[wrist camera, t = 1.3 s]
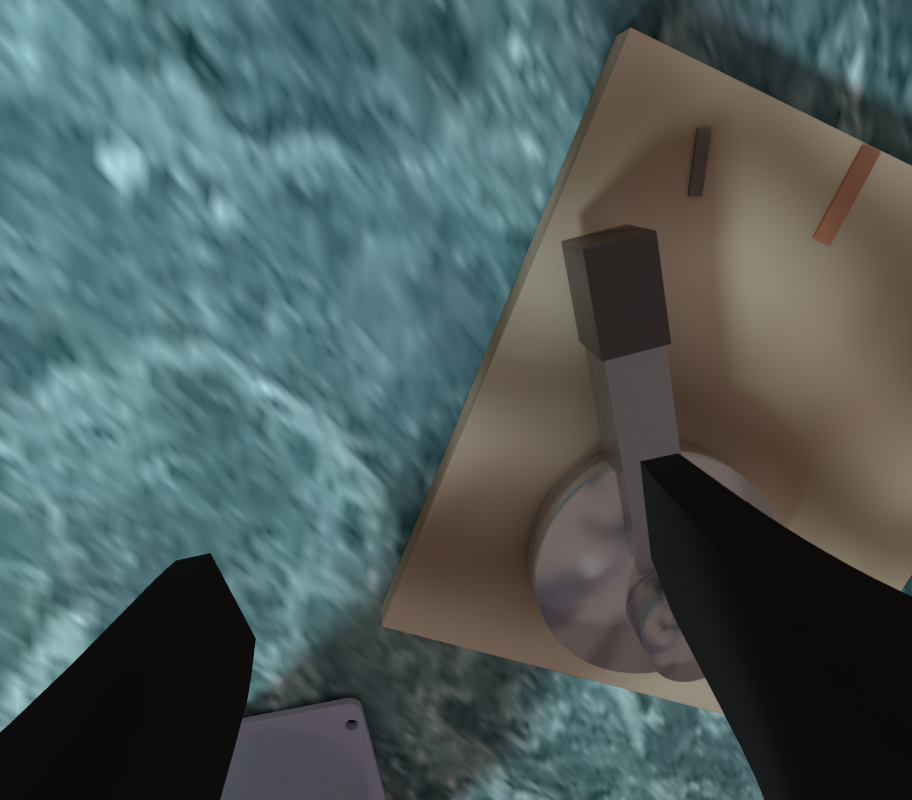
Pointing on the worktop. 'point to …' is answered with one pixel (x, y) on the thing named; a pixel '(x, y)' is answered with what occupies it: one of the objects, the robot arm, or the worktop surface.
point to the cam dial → (618, 469)
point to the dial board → (690, 348)
